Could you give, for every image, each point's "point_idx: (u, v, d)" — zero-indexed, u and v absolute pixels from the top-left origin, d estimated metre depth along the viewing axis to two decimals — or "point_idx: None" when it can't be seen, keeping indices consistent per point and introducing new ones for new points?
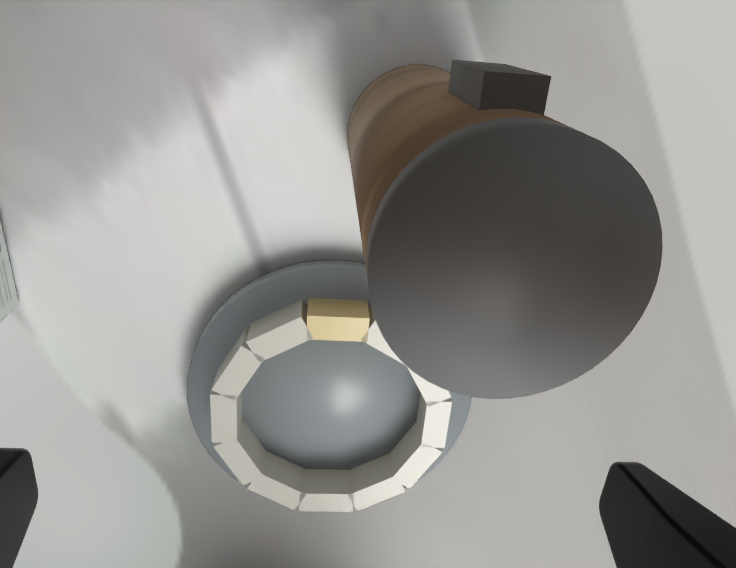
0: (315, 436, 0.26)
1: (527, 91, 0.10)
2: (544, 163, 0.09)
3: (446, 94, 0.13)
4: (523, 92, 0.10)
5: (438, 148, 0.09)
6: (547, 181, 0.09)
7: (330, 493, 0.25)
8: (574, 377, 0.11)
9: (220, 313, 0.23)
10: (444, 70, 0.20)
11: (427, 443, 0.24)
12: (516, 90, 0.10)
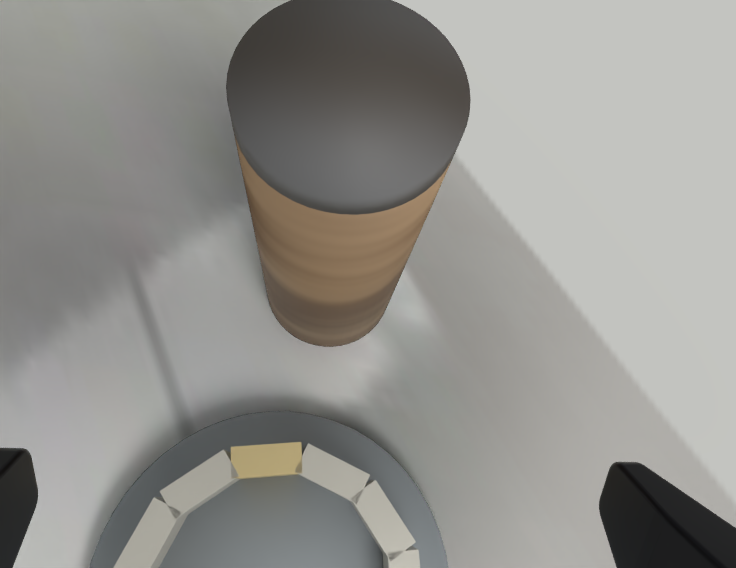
0: None
1: None
2: (349, 12, 0.13)
3: None
4: None
5: None
6: (355, 22, 0.13)
7: None
8: (432, 171, 0.12)
9: (135, 483, 0.20)
10: None
11: None
12: None
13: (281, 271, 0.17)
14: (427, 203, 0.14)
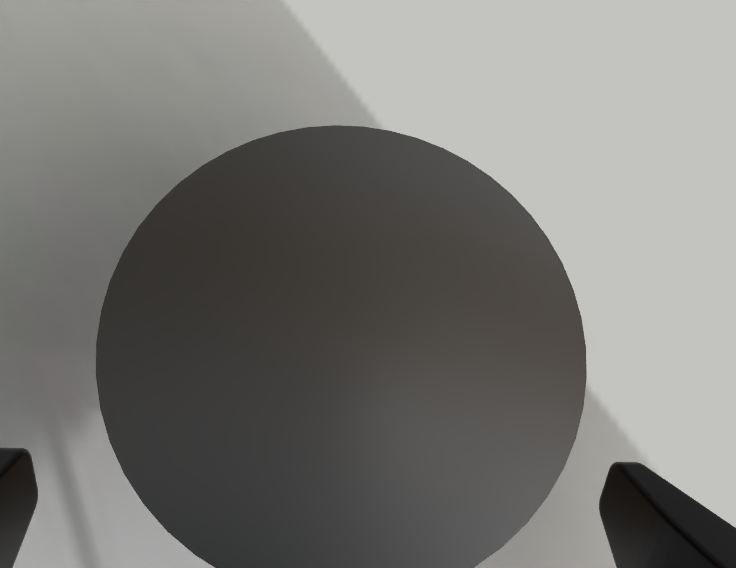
0: None
1: None
2: (347, 167, 0.07)
3: None
4: None
5: None
6: (358, 188, 0.07)
7: None
8: (522, 522, 0.06)
9: None
10: None
11: None
12: None
13: None
14: None
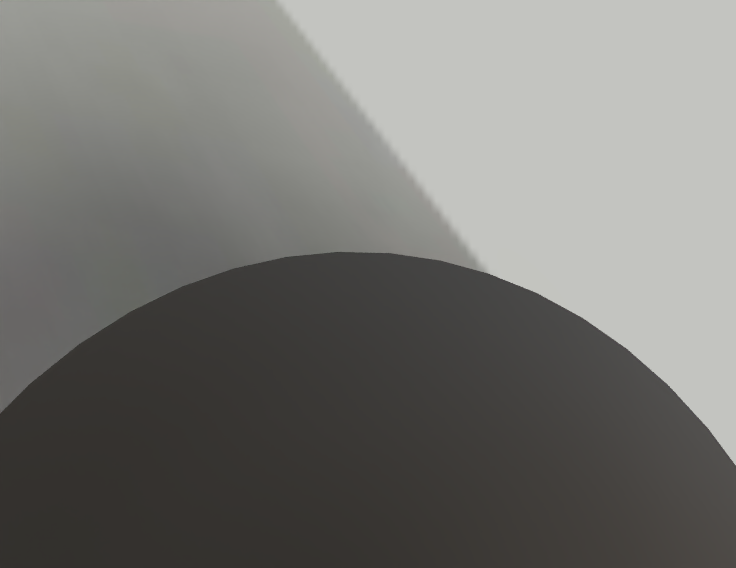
0: None
1: None
2: (361, 338, 0.04)
3: None
4: None
5: None
6: (382, 384, 0.03)
7: None
8: None
9: None
10: None
11: None
12: None
13: None
14: None
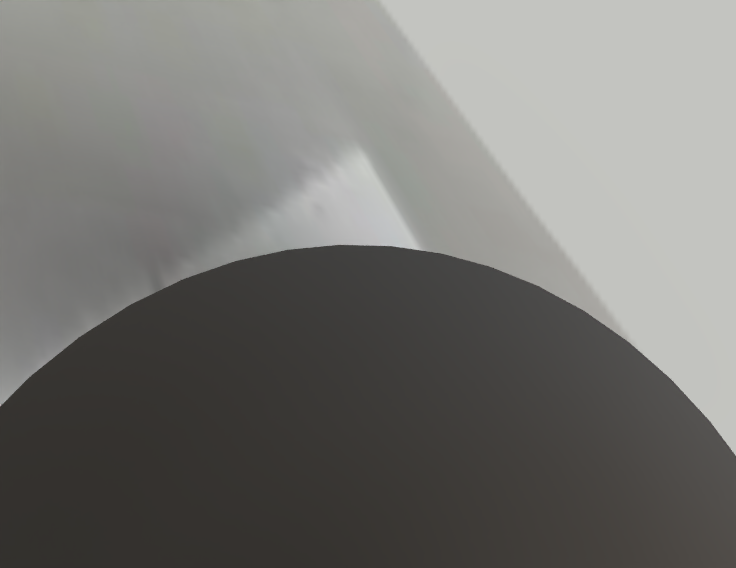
0: None
1: None
2: (363, 330, 0.04)
3: None
4: None
5: None
6: (384, 376, 0.03)
7: None
8: None
9: None
10: None
11: None
12: None
13: None
14: None
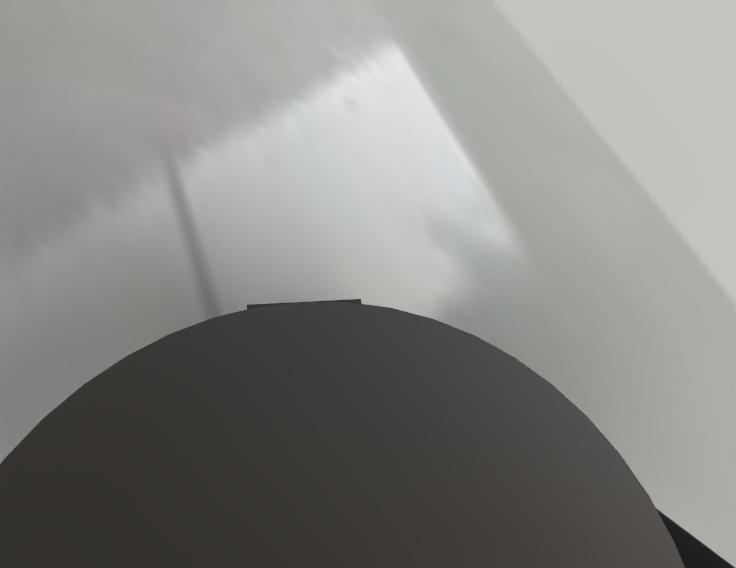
0: None
1: None
2: (322, 376, 0.04)
3: None
4: None
5: None
6: (339, 416, 0.04)
7: None
8: None
9: None
10: None
11: None
12: None
13: None
14: None
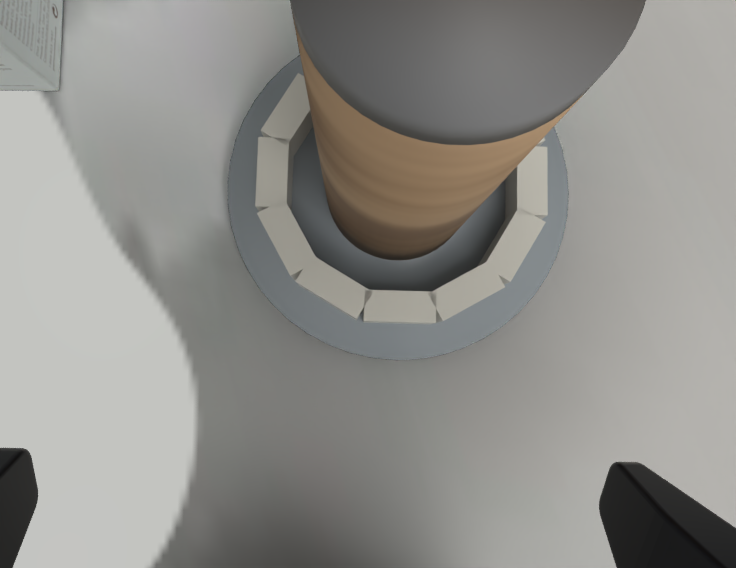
0: None
1: None
2: None
3: None
4: None
5: None
6: None
7: (405, 290, 0.19)
8: (589, 82, 0.08)
9: (274, 78, 0.21)
10: None
11: (524, 208, 0.19)
12: None
13: (350, 192, 0.13)
14: None
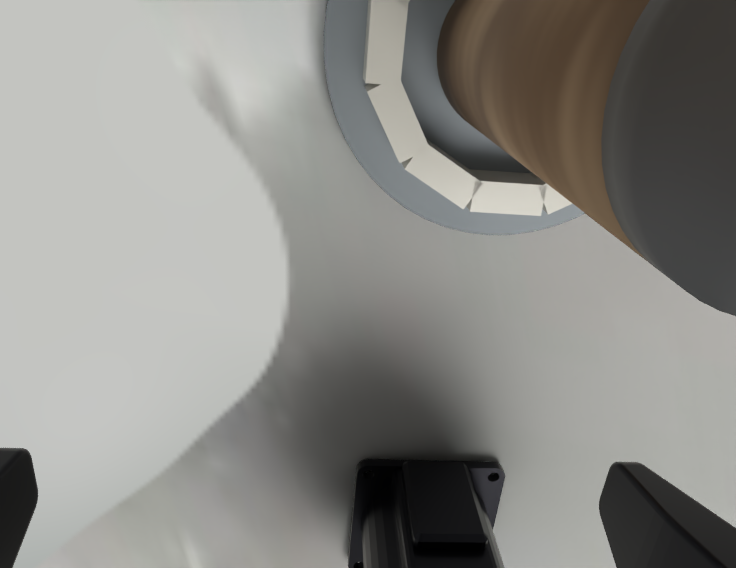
0: None
1: None
2: None
3: None
4: None
5: None
6: None
7: (515, 183, 0.18)
8: None
9: None
10: None
11: None
12: None
13: (525, 165, 0.12)
14: None
